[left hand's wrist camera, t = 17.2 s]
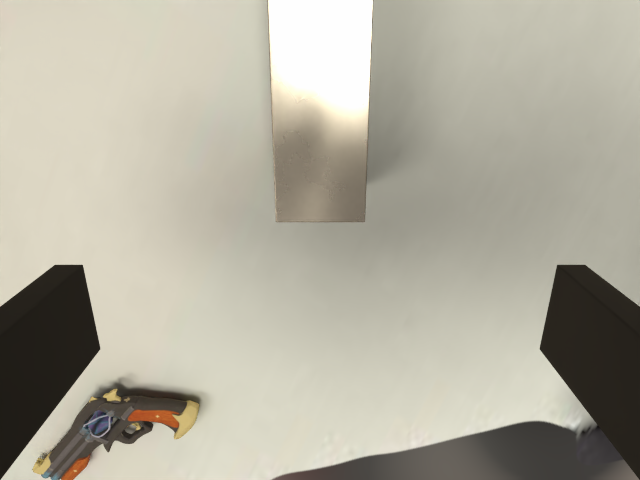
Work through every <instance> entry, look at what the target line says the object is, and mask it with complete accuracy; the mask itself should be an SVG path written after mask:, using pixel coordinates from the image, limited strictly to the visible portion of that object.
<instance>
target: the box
mask: <svg viewBox="0 0 640 480" xmlns="http://www.w3.org/2000/svg"><path fill="white" fill-rule="evenodd" d="M267 2H268V28H269V54H270V80H271V106H272V132H273V158H274V184H275V211H276V222H365V205H366V178H367V151H368V124H369V97H370V71H371V44H372V17H373V0H267Z"/></svg>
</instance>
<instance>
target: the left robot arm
mask: <svg viewBox="0 0 640 480" xmlns="http://www.w3.org/2000/svg"><path fill="white" fill-rule="evenodd" d="M99 350H100V345H99V340H98V335H97V331H96V326H95V321H94V316H93V312H92V307H91V302H90V297H89V292H88V288H87V283H86V278H85V273H84V269H83V265H54V266H53V267H52V268H50V269H49V270H48V271H46V272H45V273H44V274H43V275H41V276H40V277H39V278H37V279H36V280H35V281H33V282H32V283H31V284H29V285H28V286H27V287H26V288H24V289H23V290H22V291H20V292H19V293H18V294H16V295H15V296H14V297H13V298H11V299H10V300H9V301H7V302H6V303H5V304H3V305H2V306H1V307H0V480H1V478H2V477H3V476H4V474H5V473H6V472H7V470H8V469H9V468H10V466H11V465H12V464H13V463H14V461H15V460H16V459H17V457H18V456H19V455H20V453H21V452H22V451H23V449H24V448H25V447H26V446H27V444H28V443H29V442H30V440H31V439H32V438H33V436H34V435H35V434H36V432H37V431H38V430H39V429H40V427H41V426H42V425H43V423H44V422H45V421H46V419H47V418H48V417H49V415H50V414H51V413H52V412H53V410H54V409H55V408H56V406H57V405H58V404H59V402H60V401H61V400H62V398H63V397H64V396H65V395H66V393H67V392H68V391H69V389H70V388H71V387H72V385H73V384H74V383H75V381H76V380H77V379H78V378H79V376H80V375H81V374H82V372H83V371H84V370H85V368H86V367H87V366H88V364H89V363H90V362H91V361H92V359H93V358H94V357H95V355H96V354H97V353H98V351H99ZM540 350H541V351H542V353H543V354H544V355H545V357H546V358H547V359H548V361H549V362H550V363H551V364H552V366H553V367H554V368H555V370H556V371H557V372H558V374H559V375H560V376H561V378H562V379H563V380H564V381H565V383H566V384H567V385H568V387H569V388H570V389H571V391H572V392H573V393H574V395H575V396H576V397H577V398H578V400H579V401H580V402H581V404H582V405H583V406H584V408H585V409H586V410H587V412H588V413H589V414H590V415H591V417H592V418H593V419H594V421H595V422H596V423H597V425H598V426H599V427H600V429H601V430H602V431H603V432H604V434H605V435H606V436H607V438H608V439H609V440H610V442H611V443H612V444H613V446H614V447H615V448H616V449H617V451H618V452H619V453H620V455H621V456H622V457H623V459H624V460H625V461H626V462H627V464H628V465H629V466H630V468H631V469H632V470H633V472H634V473H635V474H636V476H637V477H638V478H639V480H640V307H639V306H638V305H637V304H635V303H634V302H633V301H631V300H630V299H629V298H627V297H626V296H625V295H624V294H622V293H621V292H620V291H618V290H617V289H616V288H614V287H613V286H612V285H611V284H609V283H608V282H607V281H605V280H604V279H603V278H601V277H600V276H599V275H597V274H596V273H595V272H594V271H592V270H591V269H590V268H588V267H587V266H586V265H557V269H556V273H555V278H554V283H553V288H552V292H551V297H550V302H549V307H548V312H547V316H546V321H545V326H544V331H543V335H542V340H541V345H540Z"/></svg>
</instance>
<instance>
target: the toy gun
mask: <svg viewBox="0 0 640 480" xmlns="http://www.w3.org/2000/svg"><path fill="white" fill-rule="evenodd" d="M117 390H118V389H113V390H112V391H110V392H109V393H106V394H104V396H103V397H104V398H94V397H91V399H90V401H89V402H88V403H87V404H86V406H85V407H84V408H83V409H82V410H81V412H80V413H79V414H78V415H77V417H76V419H75V421H74V423H73V425H72V427H71V429H70V431H69V432H68V433H67V434H66V435H65V437H64V438H63V439H62V440H61V441H60V442H59V444H58V445H57V446H56V447H55V448H54V449H53V451H51V452H50V453H49V454H48V456H47V457H46V458H45V459H40V458H38V459H37V462H36V463H35V465H34V467H33V469H32V470H33V472H35V473H37V474H41V476H42V477H43V478H48V477H51V479H52V480H60V479H61V480H73V479H74V478H75V477H76V476H77V475H78V474H79V473H80V472H81V471H82V470H83V469H84V468H85V467H86V466H87V464H88V462H89V460H90V453H91V452H92V451H93V450H94V449H95V448H96V447H97V446H99V445H100V444H104V447H105V449H106V450H107V452H109V451H110V448H111V446H112V443H113V442H114V441H115V440H117V441H120V442H122V443H125V444H132V443H134V442H135V441H136V440H137V439H138V438H139V437H141V436H142V435H144V434H146V433H148V432H150V431H152V428H153V424H152V423H151V422H158V423H162V424H165V425H166V426H168V427H170V428H171V429H172V430H173V431H174V432H175V434H174V439H179V438H181V437H182V436H183V435H184V434H186V433H187V432H188V431H189V430H190V429H191V428H192V426H193V425H194V423H195V421H196V419H197V414H198V410H199V404H198V403H196V402H193V401H190V400H188V401H182V400H177V399H171V398H150V397H145V396H141V395H140V396H135V395H132V396H125V397H119V396H117V395H116V393H117ZM94 412H95V413H94ZM93 413H94V415H93V416H92V417H91V419H90V420H89V421H86V420H87V419H88V418H89V417H90V416H91V415H92V414H93ZM113 417H115V418H118V420H117V421H116V422H115V423H114V425H113V426H112V428H110V426H111V423H112V420H113ZM149 421H151V422H149ZM130 424H132V425H134V426H136V427H137V428H136V431H135V432H134V433H133V434H129V433H127V432H126V431H125V430H124V429H125V428H126V427H127V426H129V425H130ZM140 424H141V425H142V426H143V427H141V425H140Z"/></svg>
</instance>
